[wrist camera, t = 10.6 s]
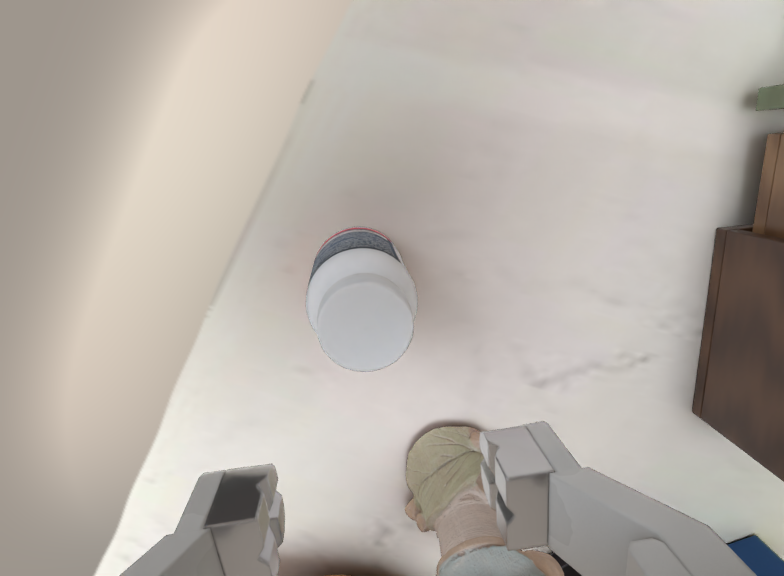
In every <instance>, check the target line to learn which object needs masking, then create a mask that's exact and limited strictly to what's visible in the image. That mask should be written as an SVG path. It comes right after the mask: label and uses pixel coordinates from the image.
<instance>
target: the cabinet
mask: <svg viewBox="0 0 784 576" xmlns="http://www.w3.org/2000/svg"><path fill="white" fill-rule="evenodd" d="M752 230H753V224H749V225H741V226H733V227H725V228H718V229H717V232H716V239H715V247H714V254H713V262H712V269H711V277H710V284H709V292H708V299H707V307H706V314H705V322H704V329H703V337H702V344H701V351H700V359H699V366H698V374H697V381H696V389H695V396H694V404H693V413H694V414H696V415H697V416H698V417H699V418H701V419H702V420H703V421H705V422H706V423H707V424H709V425H710V426H711V427H713V428H714V429H715V430H717V431H718V432H719V433H720V434H722V435H723V436H724V437H726V438H727V439H728V440H730V441H731V442H732V443H734V444H735V445H736V446H738V447H739V448H740V449H742V450H743V451H744V452H745V453H747V454H748V455H749V456H751V457H752V458H753V459H755V460H756V461H757V462H759V463H760V464H761V465H763V466H764V467H765V468H767V469H768V470H769V471H770V472H772V473H773V474H774V475H776V476H777V477H778V478H780V479H781V480H782V481H784V239H783V238H778V237H773V236H769V235H764V234H759V233H754V232H752Z"/></svg>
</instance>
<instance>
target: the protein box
mask: <svg viewBox="0 0 784 576" xmlns="http://www.w3.org/2000/svg"><path fill="white" fill-rule="evenodd" d="M728 546H729V547H730V548H731V549H732V550H733V551H734V552H735V554H736V555H737V556H738V557H739V558H740V559H741V560H742V561H743V562H744V563H745V564H746V565H747V566H748V567H749V568H750V569H751V570H752V571H753V572H754V573H755V574H756V575H757V576H784V561H783V560H782V559H781V558H780V557H779V556H778V555H777V554H776V553H775V552H774V551H773V550H771V549H770V548H769V547H768V546H767V545H766V544H765V543H764V542H763V541H762V540H761V539H760V538H759V537H758V536H756V535H754V536H751V537H748V538H745V539H743V540H740V541H737V542H734V543H731V544H728Z"/></svg>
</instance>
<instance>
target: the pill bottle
mask: <svg viewBox="0 0 784 576" xmlns="http://www.w3.org/2000/svg"><path fill="white" fill-rule="evenodd" d="M417 307H418V296H417V291H416V287H415V284H414V282H413V280H412V278H411V276H410V274H409V272H408V271H407V269H406V267H405V265H404V263H403V261H402V258H401V256H400V254H399V252H398V250H397V248H396V247H395V245H394V244H393V243H392V242H391V240H390V239H389V238H387V237H386V236H385V235H384V234H382V233H380V232H379V231H377V230H374V229H371V228H367V227H351V228H346V229H343V230H340V231H338V232H336V233H335V234H333V235H331V236H330V237H329V238H328V239H327V240H326V241H325V242H324V243H323V244H322V246H321V247H320V249H319V251H318V252H317V255H316V258H315V261H314V265H313V269H312V273H311V277H310V280H309V284H308V289H307V294H306V309H307V314H308V318H309V321H310V323H311V326H312V327H313V329H314V331H315V332H316V333H317V335H318V339H319V342H320V344H321V347H322V349H323V350H324V352H325V353H326V354H327V355H328V356H329V358H330V359H332V360H333V361H334V362H335V363H337V364H338V365H340V366H342V367H344V368H346V369H350V370H353V371H360V372H369V371H376V370H380V369H382V368H385V367H387V366H389V365H391V364H393V363H394V362H395V361H397V360H398V359H399V358H400V357H401V356H402V355H403V354H404V353H405V351H406V350H407V348H408V346H409V344H410V342H411V340H412V337H413V332H414V320H415V317H416V313H417Z"/></svg>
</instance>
